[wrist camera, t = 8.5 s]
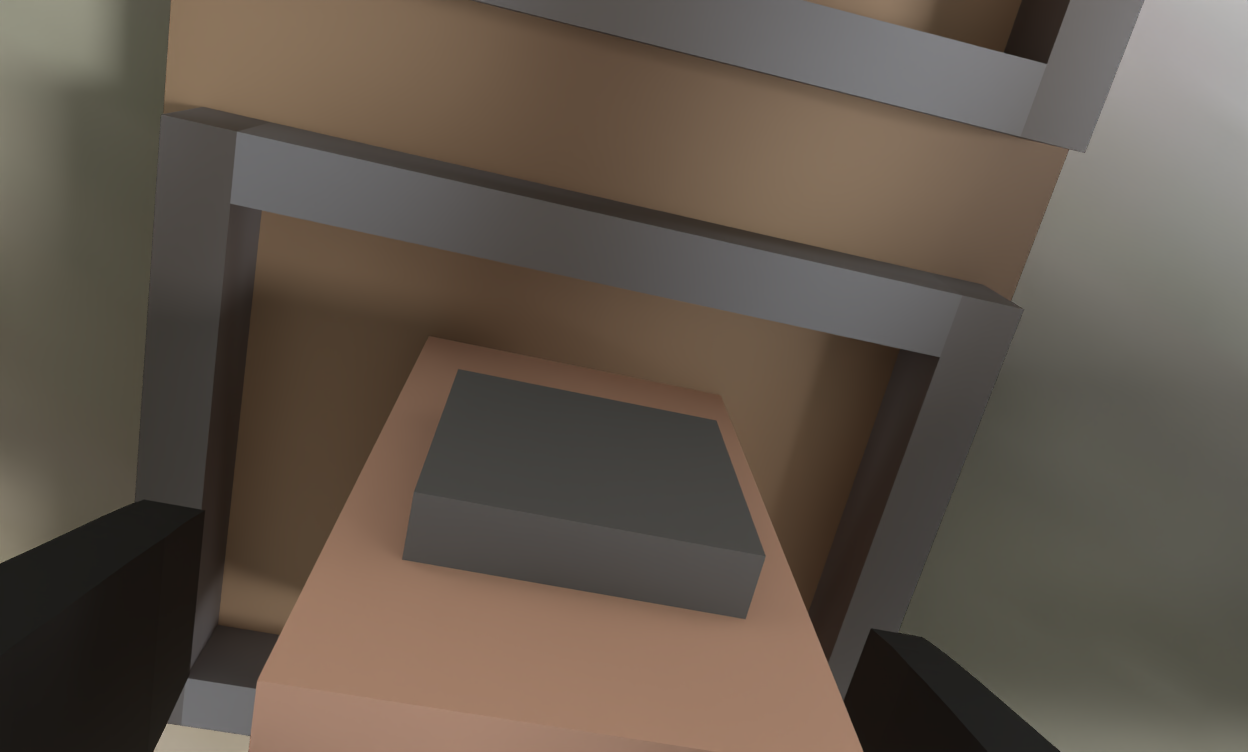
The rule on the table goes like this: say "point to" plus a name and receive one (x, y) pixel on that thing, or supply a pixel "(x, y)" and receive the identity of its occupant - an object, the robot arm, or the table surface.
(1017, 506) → the table surface
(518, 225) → the brown flat tray
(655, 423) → the pinkish brown block
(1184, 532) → the table surface
